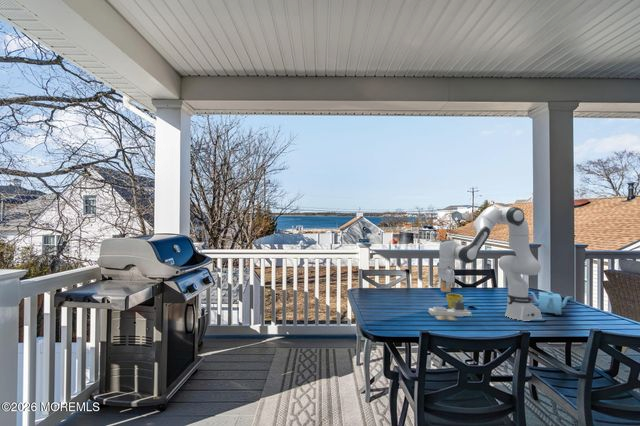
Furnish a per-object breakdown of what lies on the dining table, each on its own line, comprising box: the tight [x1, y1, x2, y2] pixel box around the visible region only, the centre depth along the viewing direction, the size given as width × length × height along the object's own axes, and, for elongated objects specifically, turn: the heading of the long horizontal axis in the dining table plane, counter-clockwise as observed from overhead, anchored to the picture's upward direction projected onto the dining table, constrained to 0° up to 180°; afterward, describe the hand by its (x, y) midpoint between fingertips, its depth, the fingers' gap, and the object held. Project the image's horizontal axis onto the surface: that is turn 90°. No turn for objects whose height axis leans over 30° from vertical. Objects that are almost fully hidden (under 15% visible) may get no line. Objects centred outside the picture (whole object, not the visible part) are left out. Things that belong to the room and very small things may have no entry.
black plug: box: [454, 299, 465, 310], centre depth 216 cm, size 5×4×8 cm
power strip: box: [427, 306, 472, 317], centre depth 216 cm, size 25×7×4 cm, turn 88°
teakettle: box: [528, 290, 572, 315], centre depth 226 cm, size 25×25×15 cm
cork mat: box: [433, 315, 459, 321], centre depth 207 cm, size 12×7×1 cm, turn 88°
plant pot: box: [445, 293, 463, 309], centre depth 229 cm, size 10×10×10 cm
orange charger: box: [440, 281, 452, 293], centre depth 207 cm, size 5×4×8 cm
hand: (445, 287), depth 207 cm, fingers closed on orange charger, 4 cm apart
